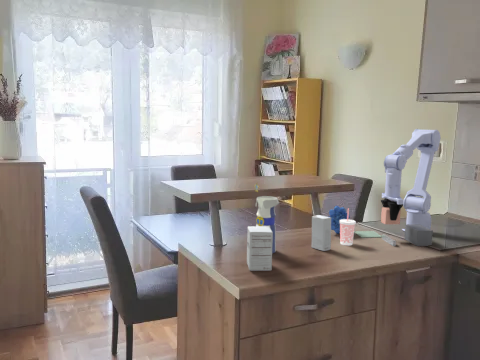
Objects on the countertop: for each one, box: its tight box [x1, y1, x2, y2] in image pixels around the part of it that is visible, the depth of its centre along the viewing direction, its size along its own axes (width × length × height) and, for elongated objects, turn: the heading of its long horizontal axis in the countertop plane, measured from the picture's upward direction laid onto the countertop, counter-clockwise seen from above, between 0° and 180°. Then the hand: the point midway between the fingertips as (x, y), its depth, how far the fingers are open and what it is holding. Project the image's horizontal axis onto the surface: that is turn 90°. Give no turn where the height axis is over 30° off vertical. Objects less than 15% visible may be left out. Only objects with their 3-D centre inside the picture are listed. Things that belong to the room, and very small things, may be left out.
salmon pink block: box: [380, 206, 402, 225], centre depth 180 cm, size 6×4×6 cm, turn 97°
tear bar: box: [381, 233, 397, 247], centre depth 177 cm, size 1×10×2 cm, turn 7°
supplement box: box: [246, 225, 273, 272], centre depth 145 cm, size 7×7×13 cm
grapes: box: [328, 205, 351, 235], centre depth 188 cm, size 12×7×12 cm, turn 117°
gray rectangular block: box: [403, 224, 434, 247], centre depth 178 cm, size 6×10×6 cm, turn 7°
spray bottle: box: [253, 182, 280, 254], centre depth 161 cm, size 8×9×25 cm
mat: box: [354, 230, 382, 239], centre depth 189 cm, size 9×9×1 cm
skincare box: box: [311, 214, 332, 252], centre depth 166 cm, size 6×4×12 cm
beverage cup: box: [339, 207, 357, 246], centre depth 173 cm, size 6×6×14 cm
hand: (390, 218), depth 180 cm, fingers closed on salmon pink block, 4 cm apart
